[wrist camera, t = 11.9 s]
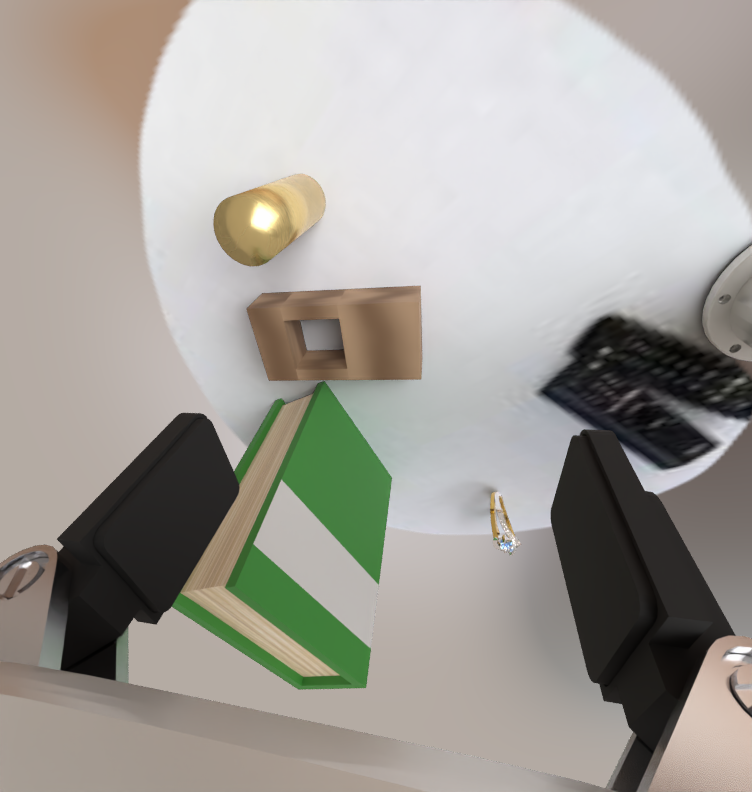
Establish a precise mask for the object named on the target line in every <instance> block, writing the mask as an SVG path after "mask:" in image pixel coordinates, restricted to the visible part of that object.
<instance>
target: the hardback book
mask: <svg viewBox="0 0 752 792" xmlns="http://www.w3.org/2000/svg"><path fill="white" fill-rule="evenodd" d="M234 473H235V475H236V478H237V480H238V482H239V487H240V489H239V494H238V496H237V498H236V500H235V501H234V503H233V505H232V506H231V508H230V510H229V511H228V513H227V515H226V516H225V518H224V520H223V521H222V523H221V525H220V526H219V528H218V530H217V532H216V533H215V535H214V537H213V538H212V540H211V542H210V543H209V545H208V547H207V548H206V550H205V552H204V553H203V555H202V557H201V558H200V560H199V562H198V563H197V565H196V567H195V568H194V570H193V572H192V573H191V575H190V577H189V578H188V580H187V582H186V583H185V585H184V587H183V588H182V590H181V592H180V594H179V595H178V597H177V599H176V600H175V602H174V604H173V605H172V607H173V608H175V609H176V610H178V611H179V612H181V613H183V614H184V615H185V616H187V617H188V618H190V619H192V620H193V621H195V622H196V623H198V624H199V625H201V626H202V627H204V628H205V629H207V630H208V631H210V632H211V633H213V634H215V635H216V636H218V637H219V638H221V639H222V640H224V641H225V642H227V643H228V644H230V645H231V646H233V647H234V648H236V649H237V650H239V651H241V652H242V653H244V654H245V655H247V656H248V657H250V658H251V659H253V660H254V661H256V662H257V663H259V664H260V665H262V666H263V667H265V668H266V669H268V670H270V671H271V672H273V673H274V674H276V675H277V676H279V677H280V678H282V679H283V680H285V681H286V682H288V683H289V684H291V685H292V686H294V687H296V688H297V689H339V688H366V684H367V676H368V668H369V660H370V652H371V643H372V635H373V627H374V619H375V611H376V603H377V595H378V587H379V579H380V569H381V563H382V554H383V546H384V538H385V530H386V522H387V514H388V506H389V498H390V489H391V481H392V477H391V476H390V474H389V473H388V472H387V470H386V469H385V467H384V466H383V464H382V463H381V462H380V460H379V459H378V457H377V456H376V454H375V453H374V451H373V450H372V449H371V447H370V446H369V444H368V443H367V441H366V440H365V439H364V437H363V436H362V434H361V433H360V431H359V430H358V429H357V427H356V426H355V424H354V423H353V421H352V420H351V418H350V417H349V416H348V414H347V413H346V411H345V410H344V408H343V407H342V406H341V404H340V403H339V401H338V400H337V398H336V397H335V396H334V394H333V393H332V391H331V390H330V388H329V387H328V385H327V384H326V383H325V381H323V382H321V383H318V385H317V387H316V389H315V391H314V393H313V394H311V395H308V396H306V397H303V398H301V399H298V400H296V401H293V402H290V403H288V404H285V402H284V401H283V400H282V399H278V400H276V401H275V402H274V404H273V406H272V407H271V409H270V411H269V412H268V414H267V416H266V418H265V419H264V421H263V423H262V424H261V426H260V428H259V430H258V431H257V433H256V435H255V436H254V438H253V440H252V442H251V443H250V445H249V447H248V448H247V450H246V452H245V454H244V455H243V457H242V459H241V461H240V462H239V464H238V466H237V467H236V469H235V471H234Z"/></svg>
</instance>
